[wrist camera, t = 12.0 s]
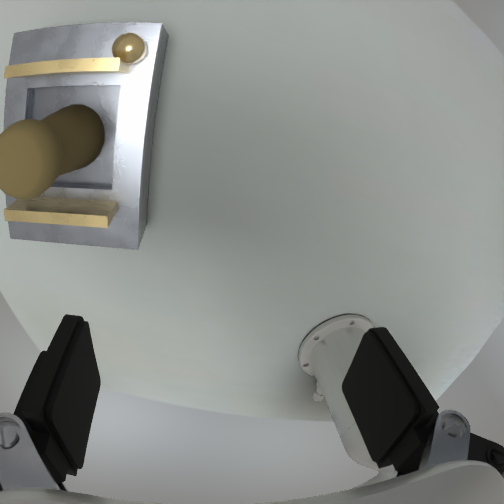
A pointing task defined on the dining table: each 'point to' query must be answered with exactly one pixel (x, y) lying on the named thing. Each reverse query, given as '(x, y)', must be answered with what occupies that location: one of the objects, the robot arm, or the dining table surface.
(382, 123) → the dining table surface
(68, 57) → the grey slotted box
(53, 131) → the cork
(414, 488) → the robot arm
